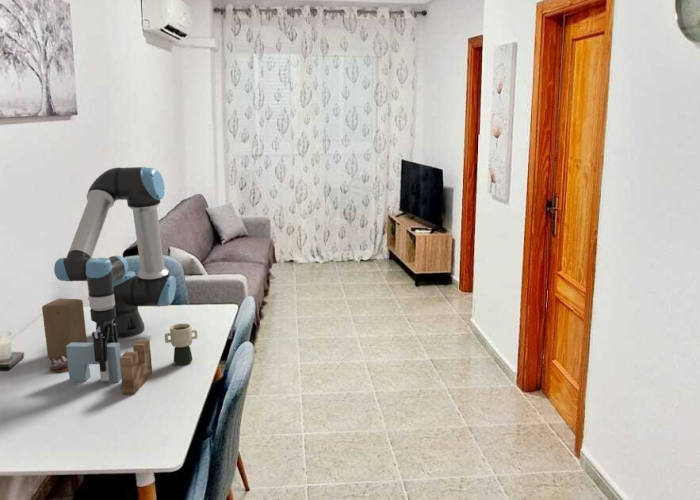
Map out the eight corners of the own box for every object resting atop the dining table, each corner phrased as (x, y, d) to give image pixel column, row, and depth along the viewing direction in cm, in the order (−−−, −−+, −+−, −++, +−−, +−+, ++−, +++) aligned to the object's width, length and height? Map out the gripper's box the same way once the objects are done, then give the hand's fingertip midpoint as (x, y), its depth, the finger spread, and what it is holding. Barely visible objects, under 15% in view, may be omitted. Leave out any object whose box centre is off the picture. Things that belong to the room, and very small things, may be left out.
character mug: (197, 356, 237) (195, 321, 234) (201, 363, 230) (198, 327, 228) (165, 361, 233) (162, 325, 230) (168, 368, 227) (165, 332, 224)
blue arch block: (69, 381, 217) (65, 346, 215) (74, 377, 221) (71, 342, 218) (118, 382, 216) (114, 346, 214) (122, 377, 220) (119, 342, 217)
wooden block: (72, 362, 234) (66, 307, 229) (47, 360, 236) (40, 305, 231) (89, 351, 243) (83, 298, 239) (64, 350, 245) (58, 297, 241)
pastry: (45, 371, 227) (43, 357, 225) (62, 363, 233) (60, 349, 232) (63, 374, 224) (61, 360, 222) (80, 366, 230) (78, 352, 229)
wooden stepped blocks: (142, 373, 223) (138, 339, 220) (152, 373, 222) (149, 339, 220) (123, 394, 207) (119, 357, 204) (134, 394, 207) (130, 357, 204)
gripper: (103, 298, 222) (110, 364, 227) (77, 316, 204) (85, 387, 209) (125, 298, 222) (131, 364, 227) (101, 316, 204) (109, 388, 209)
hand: (109, 375), depth 218 cm, fingers open, 6 cm apart
